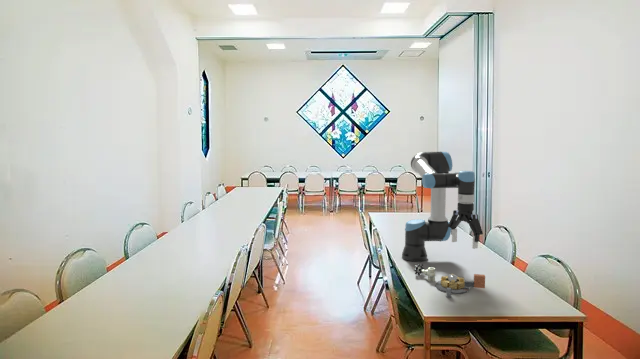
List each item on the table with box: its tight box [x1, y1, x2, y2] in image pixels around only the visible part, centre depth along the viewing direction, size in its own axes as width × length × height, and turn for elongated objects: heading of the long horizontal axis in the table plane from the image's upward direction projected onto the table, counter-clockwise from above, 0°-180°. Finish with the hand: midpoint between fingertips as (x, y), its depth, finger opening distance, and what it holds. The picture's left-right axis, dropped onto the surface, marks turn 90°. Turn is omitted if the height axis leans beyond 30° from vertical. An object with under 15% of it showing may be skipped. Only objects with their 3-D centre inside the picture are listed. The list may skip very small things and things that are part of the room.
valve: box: [413, 262, 436, 283], centre depth 225 cm, size 7×7×12 cm
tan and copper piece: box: [440, 273, 486, 289], centre depth 210 cm, size 21×11×6 cm, turn 76°
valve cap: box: [435, 273, 470, 295], centre depth 211 cm, size 16×16×6 cm
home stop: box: [445, 288, 452, 299], centre depth 200 cm, size 2×2×4 cm
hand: (464, 245), depth 210 cm, fingers open, 13 cm apart
